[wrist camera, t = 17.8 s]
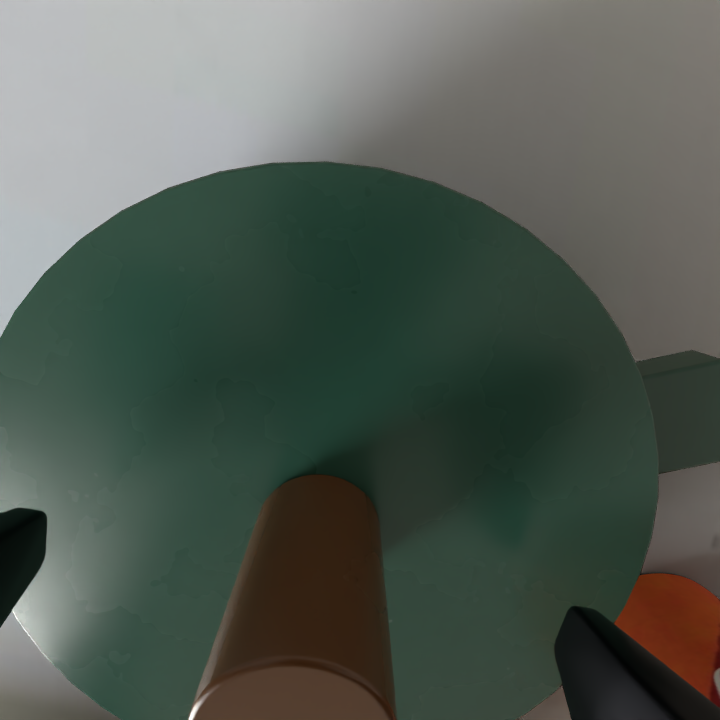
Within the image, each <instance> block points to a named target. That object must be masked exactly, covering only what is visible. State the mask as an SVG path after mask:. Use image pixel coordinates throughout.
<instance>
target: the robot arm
mask: <svg viewBox="0 0 720 720" xmlns="http://www.w3.org/2000/svg"><path fill="white" fill-rule="evenodd" d="M46 540H47V515H46V514H45V513H44V512H43V511H40V510H34V509H29V508H22V507H18V508H14V509H11V510H8V511H5V512H2V513H0V627H1V626H2V624H3V623H4V621H5V620H6V618H7V617H8V615H9V614H10V613H11V611H12V610H13V608H14V607H15V605H16V604H17V602H18V601H19V599H20V598H21V596H22V595H23V593H24V592H25V591H26V589H27V588H28V586H29V585H30V583H31V582H32V580H33V579H34V577H35V576H36V574H37V573H38V572H39V570H40V568H41V566H42V564H43V562H44V559H45V555H46ZM554 654H555V659H556V663H557V667H558V671H559V674H560V678H561V682H562V686H563V689H564V693H565V697H566V700H567V704H568V708H569V712H570V715H571V719H572V720H720V708H719V707H718V706H717V705H715V704H714V703H713V702H712V701H710V700H709V699H708V698H706V697H705V696H704V695H703V694H701V693H700V692H699V691H698V690H696V689H695V688H694V687H693V686H691V685H690V684H689V683H688V682H686V681H685V680H684V679H683V678H681V677H680V676H679V675H678V674H676V673H675V672H674V671H673V670H671V669H670V668H669V667H668V666H666V665H665V664H664V663H663V662H661V661H660V660H659V659H658V658H656V657H655V656H654V655H653V654H651V653H650V652H649V651H648V650H646V649H645V648H644V647H643V646H641V645H640V644H639V643H638V642H636V641H635V640H634V639H633V638H631V637H630V636H629V635H628V634H626V633H625V632H624V631H623V630H621V629H620V628H619V627H618V626H616V625H615V624H614V623H613V622H611V621H610V620H609V619H607V618H606V617H605V616H604V615H602V614H601V613H600V612H599V611H597V610H595V609H592V608H587V607H582V606H571V607H570V608H569V609H568V611H567V613H566V615H565V618H564V620H563V623H562V625H561V627H560V630H559V632H558V635H557V637H556V640H555V645H554Z"/></svg>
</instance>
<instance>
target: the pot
mask: <svg viewBox="0 0 720 720" xmlns="http://www.w3.org/2000/svg"><path fill="white" fill-rule="evenodd" d="M635 363H636V365H637V367H638V369H639V372H640V374H641V376H642V379H643V383H644V386H645V390H646V393H647V397H648V400H649V403H650V407H651V410H652V414H653V418H654V425H655V432H656V440H657V447H658V455H659V474H661V473H666V472H671V471H676V470H681V469H686V468H691V467H696V466H701V465H706V464H711V463H716V462H720V358H717V357H713V356H710V355H707V354H704V353H701V352H698V351H694V350H690V351H685V352H680V353H676V354H671V355H666V356H662V357H657V358H652V359H648V360H643V361H638V362H635Z"/></svg>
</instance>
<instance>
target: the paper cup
mask: <svg viewBox="0 0 720 720" xmlns="http://www.w3.org/2000/svg"><path fill="white" fill-rule="evenodd" d="M614 624H615V625H616V626H618V627H619V628H620V629H621V630H623V631H624V632H625V633H626V634H628V635H629V636H630V637H631V638H633V639H634V640H635V641H636V642H638V643H639V644H640V645H641V646H643V647H644V648H645V649H646V650H648V651H649V652H650V653H651V654H653V655H654V656H655V657H656V658H658V659H659V660H660V661H661V662H663V663H664V664H665V665H666V666H668V667H669V668H670V669H671V670H673V671H674V672H675V673H676V674H678V675H679V676H680V677H681V678H683V679H684V680H685V681H686V682H688V683H689V684H690V685H691V686H693V687H694V688H695V689H696V690H698V691H699V692H700V693H701V694H703V695H704V696H705V697H706V698H708V699H709V700H710V701H712V702H713V703H714V704H715V705H717V706H718V707H719V708H720V599H718V598H717V597H716V596H715V595H713V594H712V593H711V592H710V591H708V590H707V589H706V588H704V587H703V586H701V585H700V584H698V583H696V582H695V581H692V580H690V579H688V578H685V577H682V576H678V575H673V574H664V573H654V574H644V575H639V577H638V580H637V582H636V584H635V586H634V588H633V590H632V592H631V594H630V597H629V599H628V601H627V603H626V605H625V607H624V609H623V610H622V612H621V614H620V615H619V617H618V618H617V620H616V621H615V623H614Z"/></svg>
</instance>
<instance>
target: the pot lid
mask: <svg viewBox="0 0 720 720" xmlns="http://www.w3.org/2000/svg"><path fill="white" fill-rule="evenodd" d="M658 483H659V455H658V447H657V440H656V432H655V425H654V418H653V414H652V410H651V407H650V403H649V400H648V397H647V393H646V390H645V386H644V383H643V379H642V376H641V374H640V372H639V369H638V367H637V365H636V363H635V361H634V359H633V357H632V354H631V352H630V350H629V348H628V346H627V344H626V341H625V339H624V337H623V335H622V333H621V332H620V330H619V329H618V327H617V326H616V324H615V323H614V321H613V320H612V318H611V317H610V315H609V314H608V312H607V311H606V309H605V308H604V306H603V305H602V303H601V302H600V300H599V299H598V297H597V296H596V295H595V294H594V292H593V291H592V290H591V289H590V288H589V287H588V286H587V285H586V284H585V282H584V281H583V280H582V279H581V278H580V277H579V276H578V275H577V274H576V273H575V271H574V270H573V269H572V268H571V267H570V266H569V265H568V264H567V263H566V262H565V260H563V259H562V258H561V257H560V256H559V255H557V254H556V253H555V252H554V251H552V250H551V249H550V248H549V247H548V246H546V245H545V244H544V243H543V242H542V241H540V240H539V239H538V238H537V237H535V236H534V235H533V234H532V233H531V232H529V231H528V230H527V229H526V228H524V227H522V226H521V225H519V224H517V223H516V222H514V221H512V220H511V219H509V218H507V217H506V216H504V215H502V214H501V213H499V212H497V211H496V210H494V209H492V208H491V207H489V206H487V205H486V204H484V203H483V202H480V201H478V200H476V199H473V198H471V197H469V196H466V195H464V194H461V193H459V192H457V191H454V190H452V189H450V188H447V187H445V186H443V185H440V184H438V183H435V182H433V181H429V180H425V179H422V178H418V177H414V176H410V175H406V174H403V173H399V172H395V171H391V170H388V169H384V168H378V167H370V166H362V165H353V164H345V163H336V162H328V161H324V162H280V163H268V164H262V165H256V166H250V167H244V168H238V169H232V170H226V171H219V172H216V173H213V174H210V175H207V176H204V177H201V178H197V179H194V180H191V181H188V182H185V183H182V184H179V185H175V186H172V187H169V188H167V189H165V190H163V191H161V192H159V193H157V194H155V195H153V196H151V197H148V198H146V199H144V200H142V201H140V202H138V203H136V204H134V205H132V206H130V207H128V208H126V209H124V210H122V211H120V212H119V213H118V214H116V215H115V216H113V217H112V218H110V219H109V220H107V221H106V222H104V223H103V224H102V225H100V226H99V227H97V228H96V229H94V230H93V231H91V232H90V233H89V234H87V235H86V236H84V237H83V238H81V239H80V240H79V241H78V242H77V243H76V244H75V245H74V246H73V247H71V248H70V249H69V250H68V251H67V252H66V253H65V254H64V255H63V256H62V257H61V258H60V259H59V260H58V261H57V262H56V263H55V264H53V265H52V266H51V267H50V268H49V269H48V270H47V271H46V272H45V273H44V274H43V276H42V277H41V278H40V279H39V281H38V282H37V283H36V285H35V286H34V287H33V288H32V290H31V291H30V292H29V294H28V295H27V296H26V298H25V299H24V300H23V301H22V303H21V304H20V305H19V307H18V308H17V309H16V310H15V312H14V314H13V316H12V318H11V319H10V321H9V323H8V325H7V327H6V328H5V330H4V332H3V334H2V336H1V338H0V513H2V512H5V511H8V510H11V509H14V508H18V507H22V508H29V509H34V510H40V511H43V512H44V513H45V514H46V515H47V540H46V555H45V559H44V562H43V564H42V566H41V568H40V570H39V572H38V573H37V574H36V576H35V577H34V579H33V580H32V582H31V583H30V585H29V586H28V588H27V589H26V591H25V592H24V593H23V595H22V596H21V598H20V599H19V601H18V602H17V604H16V605H15V607H14V608H13V610H12V612H13V614H14V615H15V617H16V619H17V620H18V622H19V624H20V625H21V627H22V628H23V629H24V630H25V632H26V633H27V634H28V635H29V637H30V638H31V639H32V641H33V642H34V643H35V644H36V646H37V647H38V648H39V650H40V651H41V652H42V653H43V655H44V656H45V657H46V658H47V659H48V660H49V661H50V662H51V663H52V664H53V665H54V666H55V667H56V668H57V669H58V670H59V671H60V672H61V673H62V674H63V675H64V676H65V677H66V678H67V679H68V680H69V681H70V682H71V683H72V684H73V685H75V686H76V687H77V688H78V689H80V690H81V691H82V692H83V693H85V694H86V695H87V696H88V697H90V698H91V699H92V700H94V701H95V702H96V703H97V704H99V705H100V706H101V707H103V708H104V709H106V710H107V711H109V712H110V713H112V714H114V715H115V716H117V717H118V718H120V719H122V720H516V719H518V718H520V717H521V716H523V715H525V714H526V713H527V712H529V711H530V710H531V709H533V708H534V707H535V706H537V705H538V704H539V703H541V702H542V701H543V700H545V699H546V698H547V697H549V696H550V695H551V694H553V693H554V692H555V691H556V690H557V689H558V688H559V687H560V686H561V685H562V682H561V678H560V674H559V671H558V667H557V663H556V659H555V654H554V645H555V640H556V637H557V635H558V632H559V630H560V627H561V625H562V623H563V620H564V618H565V615H566V613H567V611H568V609H569V608H570V607H571V606H582V607H587V608H592V609H595V610H597V611H599V612H600V613H601V614H602V615H604V616H605V617H606V618H607V619H609V620H610V621H611V622H613V623H615V621H616V620H617V618H618V617H619V615H620V614H621V612H622V610H623V609H624V607H625V605H626V603H627V601H628V599H629V597H630V594H631V592H632V590H633V588H634V586H635V584H636V582H637V580H638V577H639V575H640V573H641V570H642V567H643V564H644V560H645V557H646V554H647V551H648V548H649V544H650V541H651V538H652V533H653V527H654V521H655V515H656V509H657V503H658Z"/></svg>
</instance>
